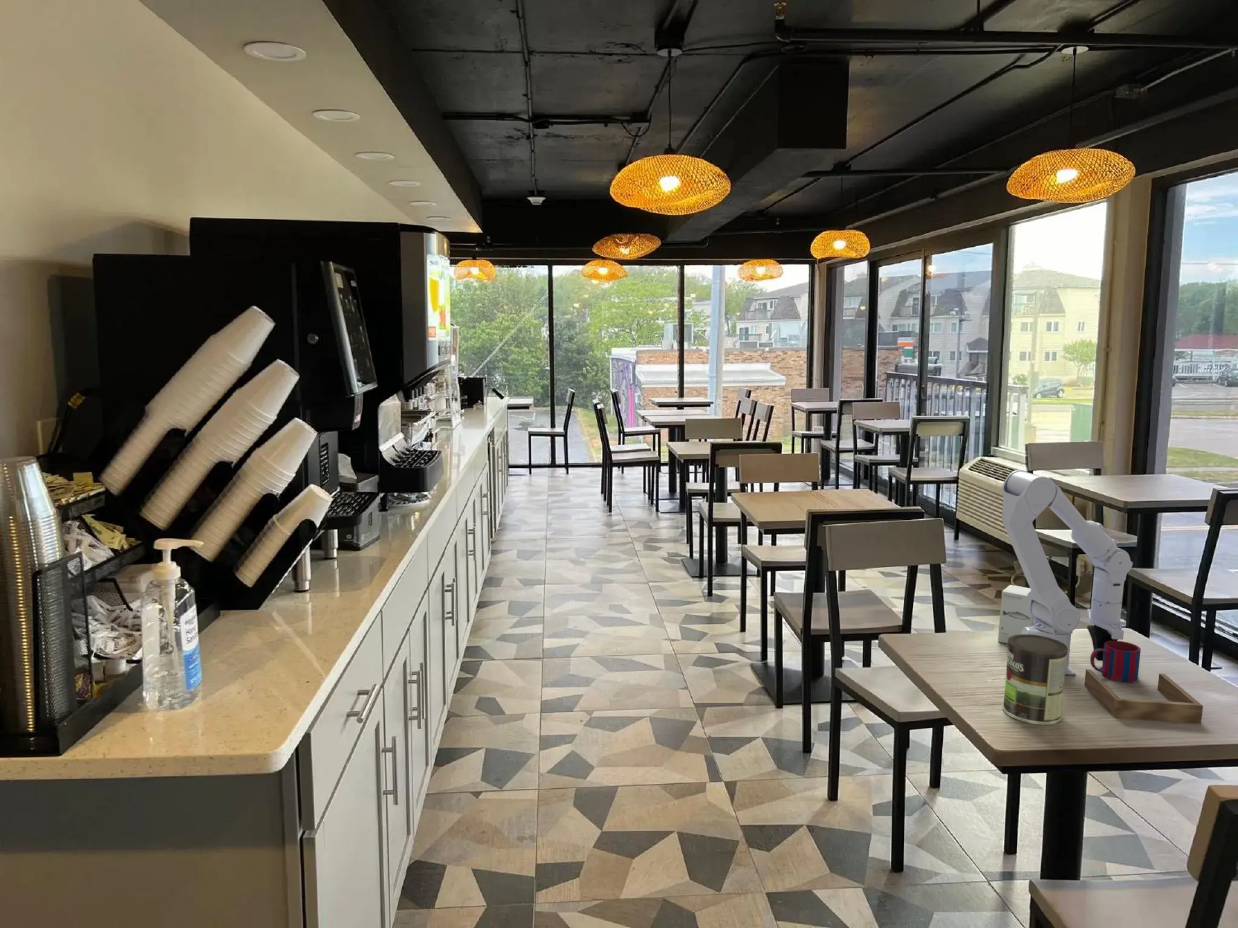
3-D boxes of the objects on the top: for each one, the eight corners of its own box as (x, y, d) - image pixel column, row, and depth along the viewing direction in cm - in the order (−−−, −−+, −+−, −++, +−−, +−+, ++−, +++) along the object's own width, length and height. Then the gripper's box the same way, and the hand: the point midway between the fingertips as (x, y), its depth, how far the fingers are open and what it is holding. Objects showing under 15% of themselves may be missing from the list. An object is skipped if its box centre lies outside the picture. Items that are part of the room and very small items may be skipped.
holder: (1114, 717, 164) (1116, 700, 163) (1084, 685, 179) (1085, 669, 178) (1201, 723, 161) (1203, 705, 161) (1162, 689, 176) (1164, 673, 176)
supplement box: (996, 642, 204) (1000, 590, 202) (1006, 633, 209) (1010, 583, 207) (1030, 649, 199) (1034, 596, 197) (1038, 640, 205) (1043, 589, 203)
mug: (1144, 683, 180) (1147, 651, 179) (1095, 682, 180) (1098, 651, 179) (1126, 670, 187) (1129, 640, 186) (1079, 670, 187) (1082, 639, 186)
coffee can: (1016, 725, 160) (1021, 652, 158) (994, 701, 171) (999, 633, 169) (1072, 726, 160) (1078, 653, 158) (1046, 702, 170) (1052, 634, 168)
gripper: (1141, 611, 179) (1135, 673, 181) (1112, 591, 193) (1107, 648, 195) (1105, 609, 180) (1099, 671, 182) (1079, 589, 194) (1074, 647, 196)
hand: (1101, 659), depth 189 cm, fingers closed
